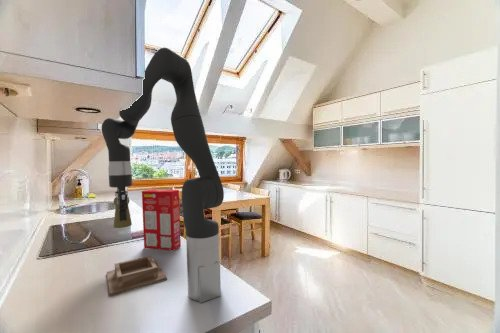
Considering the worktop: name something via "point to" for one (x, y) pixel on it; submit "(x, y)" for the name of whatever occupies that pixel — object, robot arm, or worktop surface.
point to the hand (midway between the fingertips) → (122, 219)
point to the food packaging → (161, 219)
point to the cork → (117, 217)
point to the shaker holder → (134, 275)
